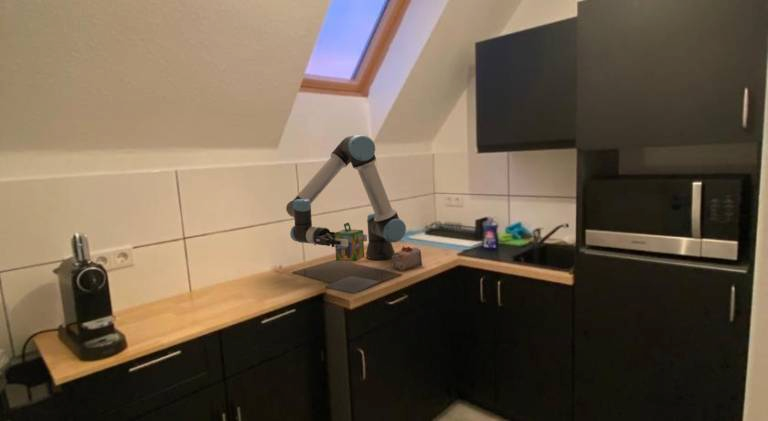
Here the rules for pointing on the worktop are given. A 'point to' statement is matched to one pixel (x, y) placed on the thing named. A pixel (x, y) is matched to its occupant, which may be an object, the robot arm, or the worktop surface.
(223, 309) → the worktop surface
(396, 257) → the food item
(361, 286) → the rubber mat
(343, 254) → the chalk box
